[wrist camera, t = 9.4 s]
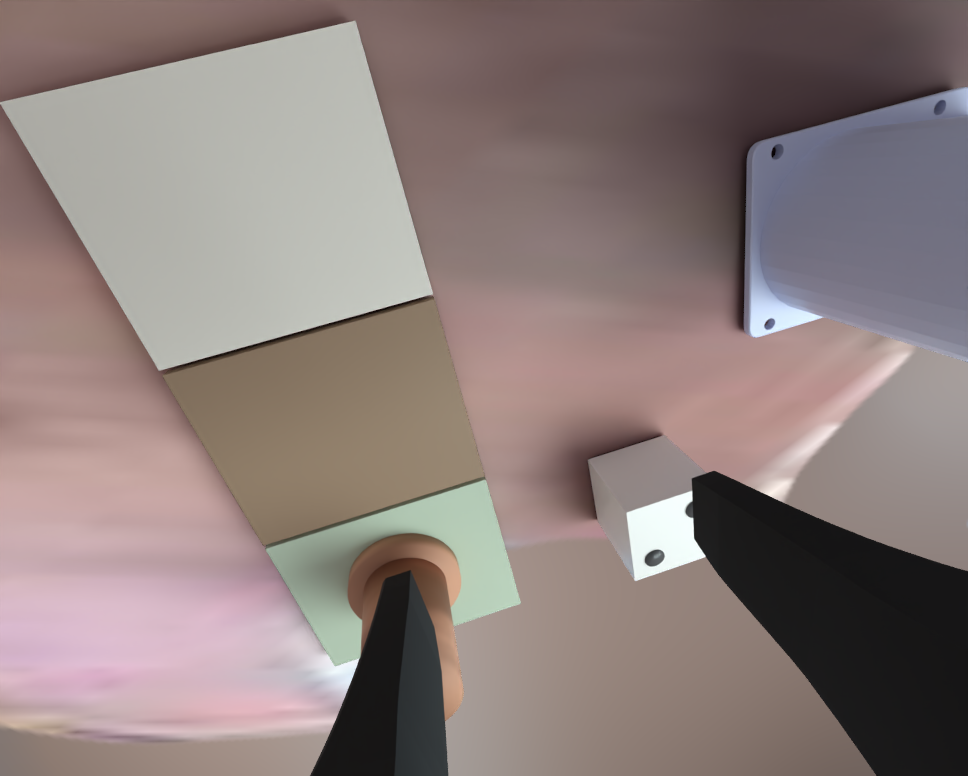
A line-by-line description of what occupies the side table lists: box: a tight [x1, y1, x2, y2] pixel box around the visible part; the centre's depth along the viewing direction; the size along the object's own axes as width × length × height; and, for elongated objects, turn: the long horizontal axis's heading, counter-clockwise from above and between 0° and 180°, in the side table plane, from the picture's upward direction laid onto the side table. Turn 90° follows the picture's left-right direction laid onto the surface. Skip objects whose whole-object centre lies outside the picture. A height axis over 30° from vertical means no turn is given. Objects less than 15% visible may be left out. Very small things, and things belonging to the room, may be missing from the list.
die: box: [588, 435, 706, 581], centre depth 22 cm, size 4×4×4 cm
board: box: [0, 21, 521, 666], centre depth 19 cm, size 10×25×1 cm, turn 13°
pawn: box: [348, 533, 464, 721], centre depth 20 cm, size 5×5×6 cm
